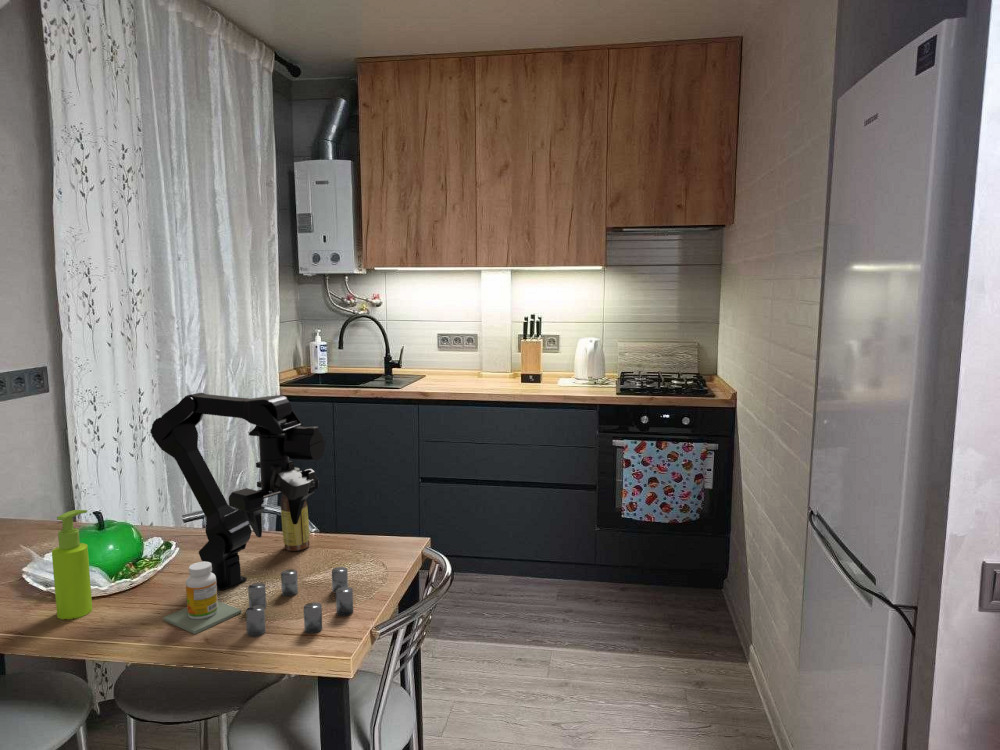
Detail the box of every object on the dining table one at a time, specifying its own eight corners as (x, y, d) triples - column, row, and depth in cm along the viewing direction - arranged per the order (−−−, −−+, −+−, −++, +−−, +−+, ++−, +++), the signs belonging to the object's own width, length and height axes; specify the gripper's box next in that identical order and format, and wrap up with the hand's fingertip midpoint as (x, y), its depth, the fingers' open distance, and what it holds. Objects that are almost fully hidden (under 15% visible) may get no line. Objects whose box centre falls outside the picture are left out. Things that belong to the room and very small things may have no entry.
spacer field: (216, 622, 129) (215, 600, 128) (314, 577, 149) (313, 558, 148) (284, 651, 118) (283, 626, 118) (379, 598, 138) (378, 577, 138)
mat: (163, 620, 130) (163, 617, 129) (210, 600, 138) (210, 597, 138) (194, 634, 124) (194, 631, 124) (241, 612, 132) (241, 609, 132)
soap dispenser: (103, 604, 136) (96, 508, 134) (75, 620, 129) (67, 519, 127) (78, 602, 137) (70, 506, 135) (49, 618, 131) (40, 517, 128)
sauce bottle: (302, 541, 171) (299, 464, 168) (314, 547, 166) (311, 468, 164) (278, 547, 166) (274, 468, 164) (289, 554, 162) (286, 473, 159)
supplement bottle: (188, 609, 133) (185, 562, 131) (218, 605, 134) (215, 558, 133) (186, 622, 127) (183, 572, 126) (217, 617, 129) (214, 568, 128)
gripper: (262, 472, 127) (265, 552, 129) (335, 453, 143) (338, 524, 145) (225, 464, 133) (229, 541, 135) (299, 446, 149) (302, 515, 151)
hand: (277, 530), depth 141 cm, fingers open, 9 cm apart
